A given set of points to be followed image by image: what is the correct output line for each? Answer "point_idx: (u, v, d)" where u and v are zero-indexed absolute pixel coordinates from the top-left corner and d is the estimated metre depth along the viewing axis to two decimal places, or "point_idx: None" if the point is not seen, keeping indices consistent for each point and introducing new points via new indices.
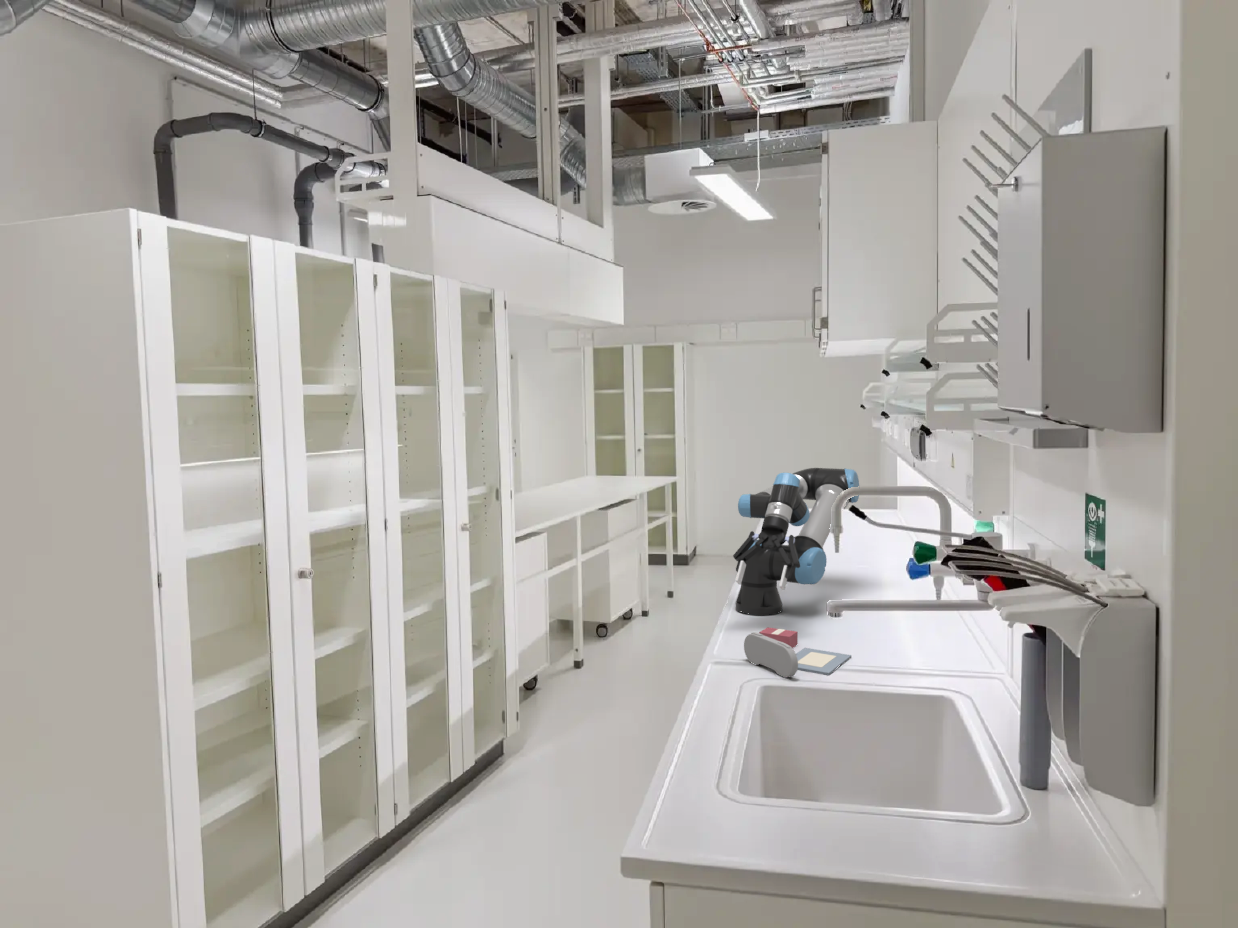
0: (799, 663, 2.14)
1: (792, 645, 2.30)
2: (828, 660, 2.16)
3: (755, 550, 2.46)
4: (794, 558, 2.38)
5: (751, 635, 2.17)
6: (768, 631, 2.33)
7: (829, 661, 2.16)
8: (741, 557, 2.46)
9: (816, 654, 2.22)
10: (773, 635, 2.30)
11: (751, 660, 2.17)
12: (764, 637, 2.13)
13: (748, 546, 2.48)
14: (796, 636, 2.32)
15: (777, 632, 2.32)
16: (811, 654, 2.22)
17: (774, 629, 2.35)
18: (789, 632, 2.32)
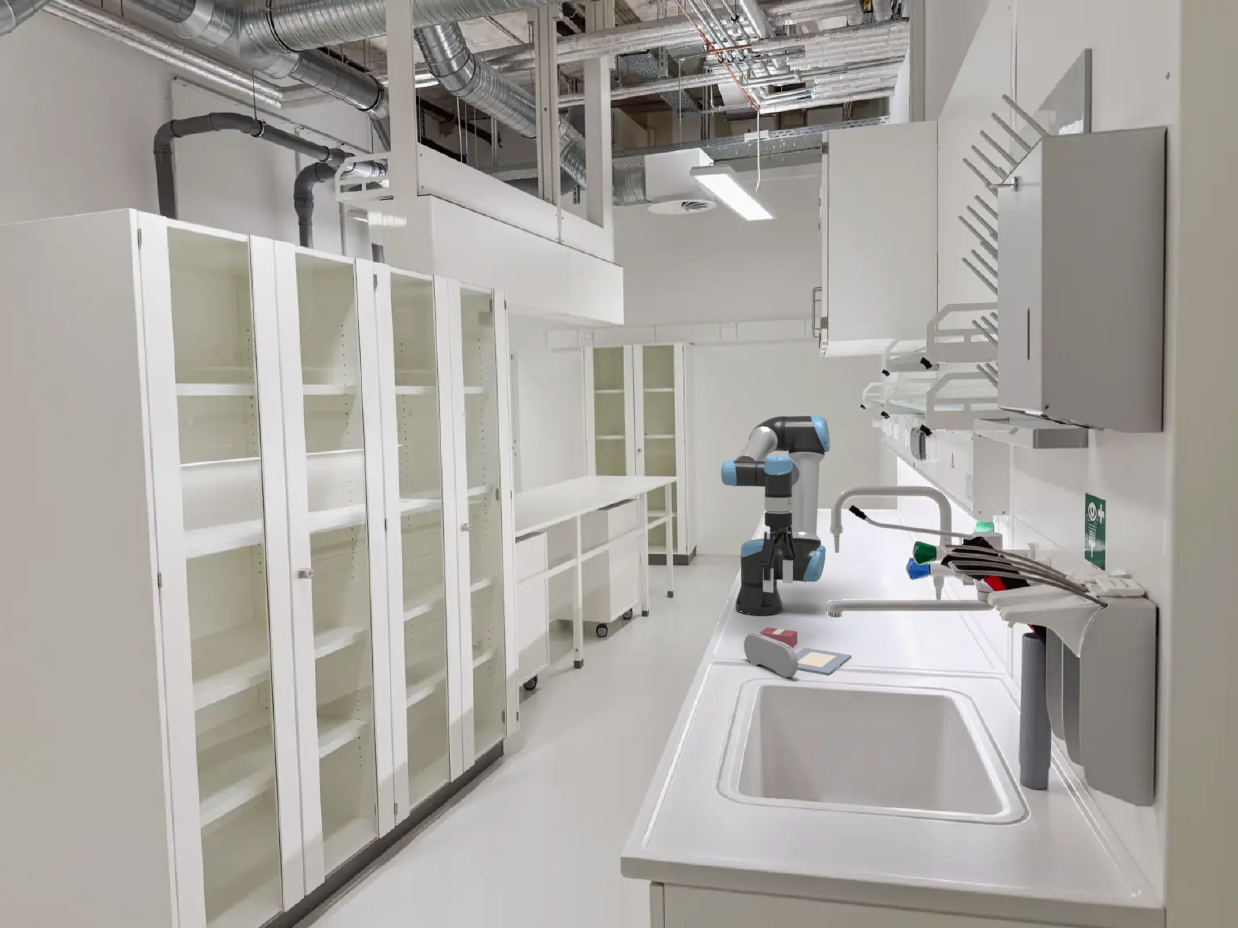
0: (799, 663, 2.14)
1: (793, 645, 2.30)
2: (828, 660, 2.16)
3: None
4: (794, 550, 2.38)
5: (751, 635, 2.16)
6: (768, 631, 2.33)
7: (829, 661, 2.16)
8: (771, 565, 2.24)
9: (816, 654, 2.22)
10: (774, 635, 2.30)
11: (751, 660, 2.17)
12: (764, 637, 2.13)
13: None
14: (796, 636, 2.33)
15: (777, 632, 2.32)
16: (811, 654, 2.22)
17: (773, 629, 2.35)
18: (789, 632, 2.32)
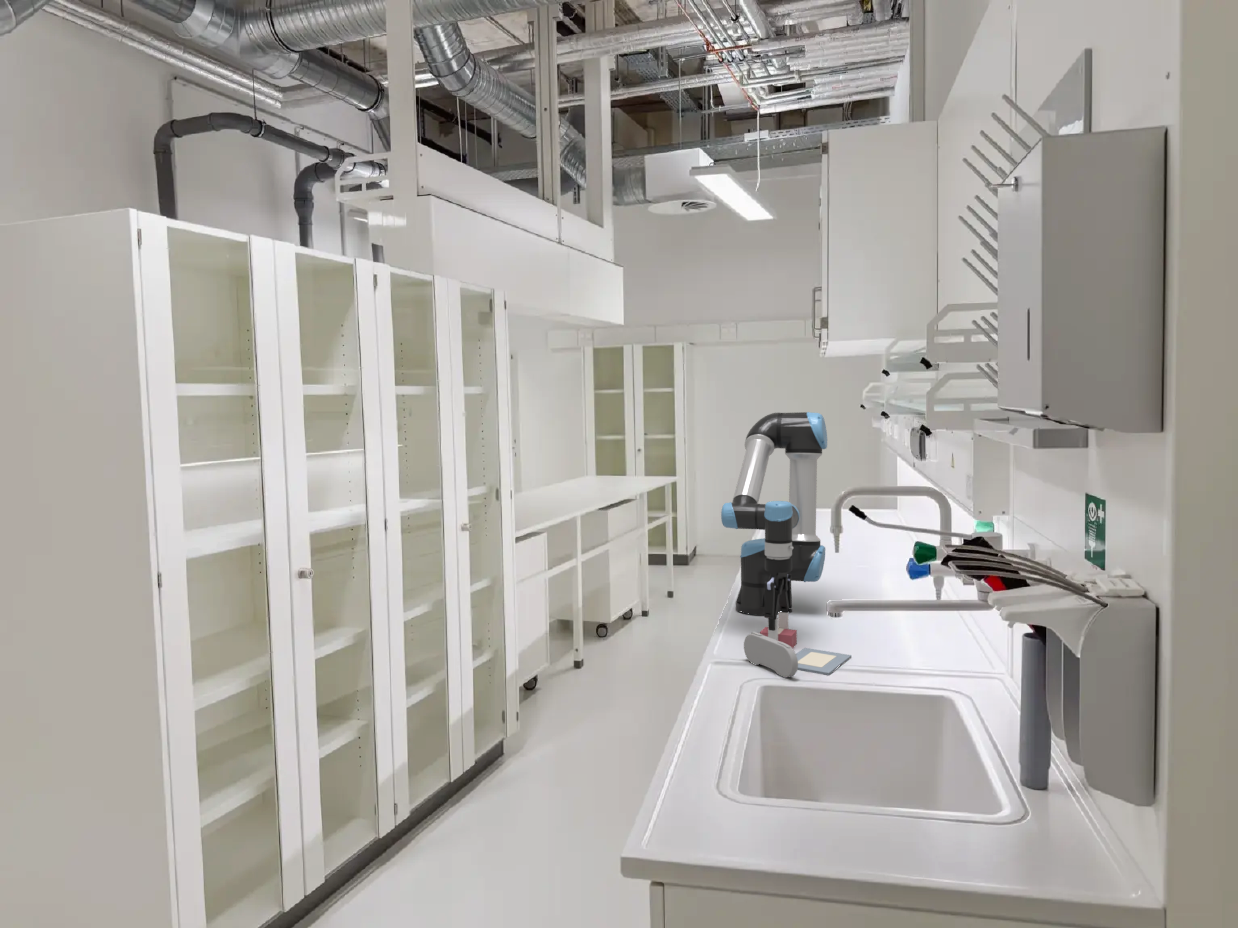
0: (799, 663, 2.14)
1: (793, 644, 2.30)
2: (828, 660, 2.16)
3: None
4: (790, 601, 2.37)
5: (751, 635, 2.16)
6: None
7: (829, 661, 2.16)
8: (776, 615, 2.28)
9: (816, 654, 2.22)
10: None
11: (751, 660, 2.17)
12: (764, 637, 2.13)
13: None
14: (796, 634, 2.33)
15: None
16: (811, 654, 2.22)
17: None
18: (789, 631, 2.32)
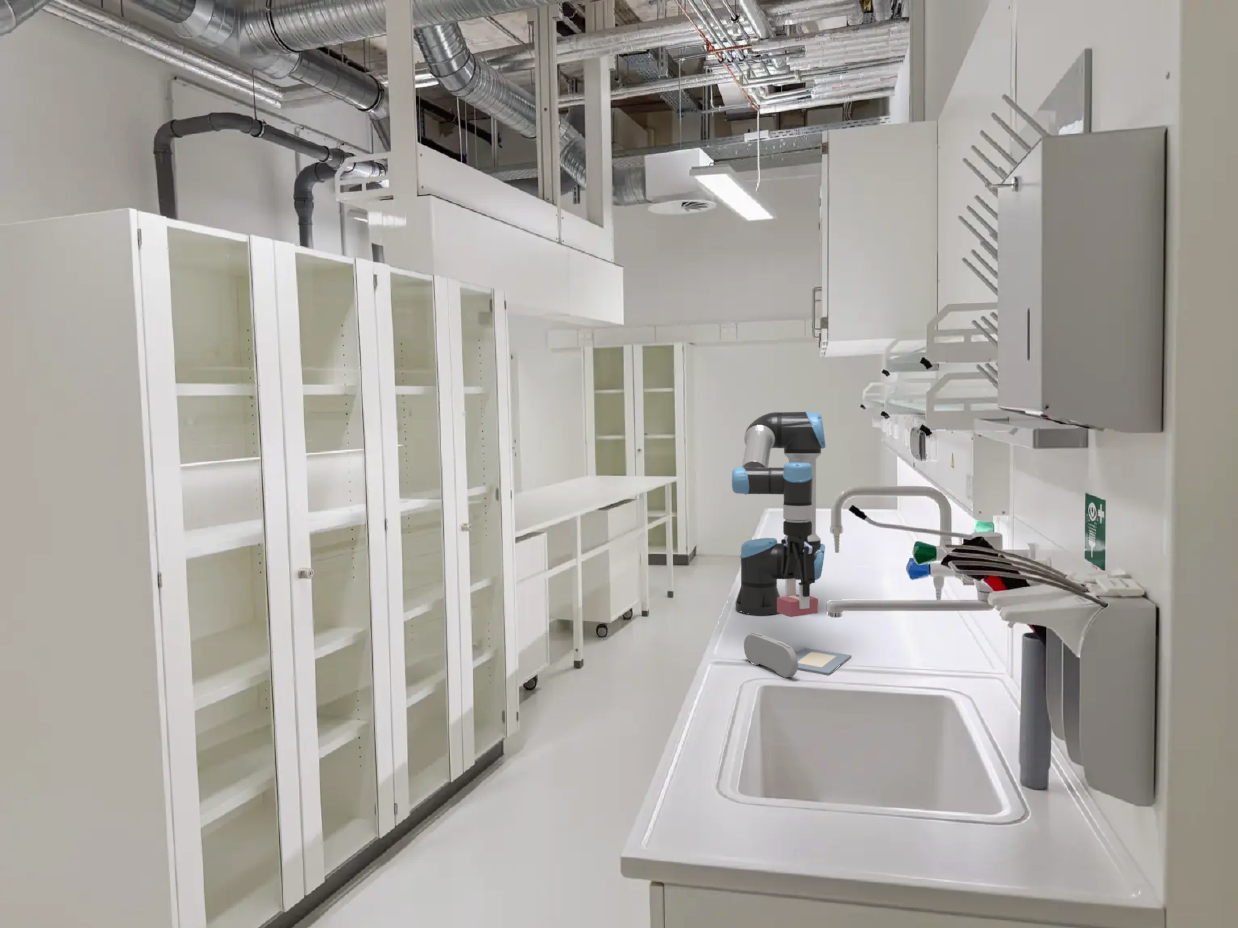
0: (799, 663, 2.14)
1: None
2: (828, 660, 2.16)
3: None
4: None
5: (751, 635, 2.16)
6: (791, 599, 2.21)
7: (829, 661, 2.16)
8: None
9: (816, 654, 2.22)
10: None
11: (751, 660, 2.17)
12: (764, 637, 2.13)
13: None
14: None
15: None
16: (811, 654, 2.22)
17: (787, 597, 2.24)
18: None
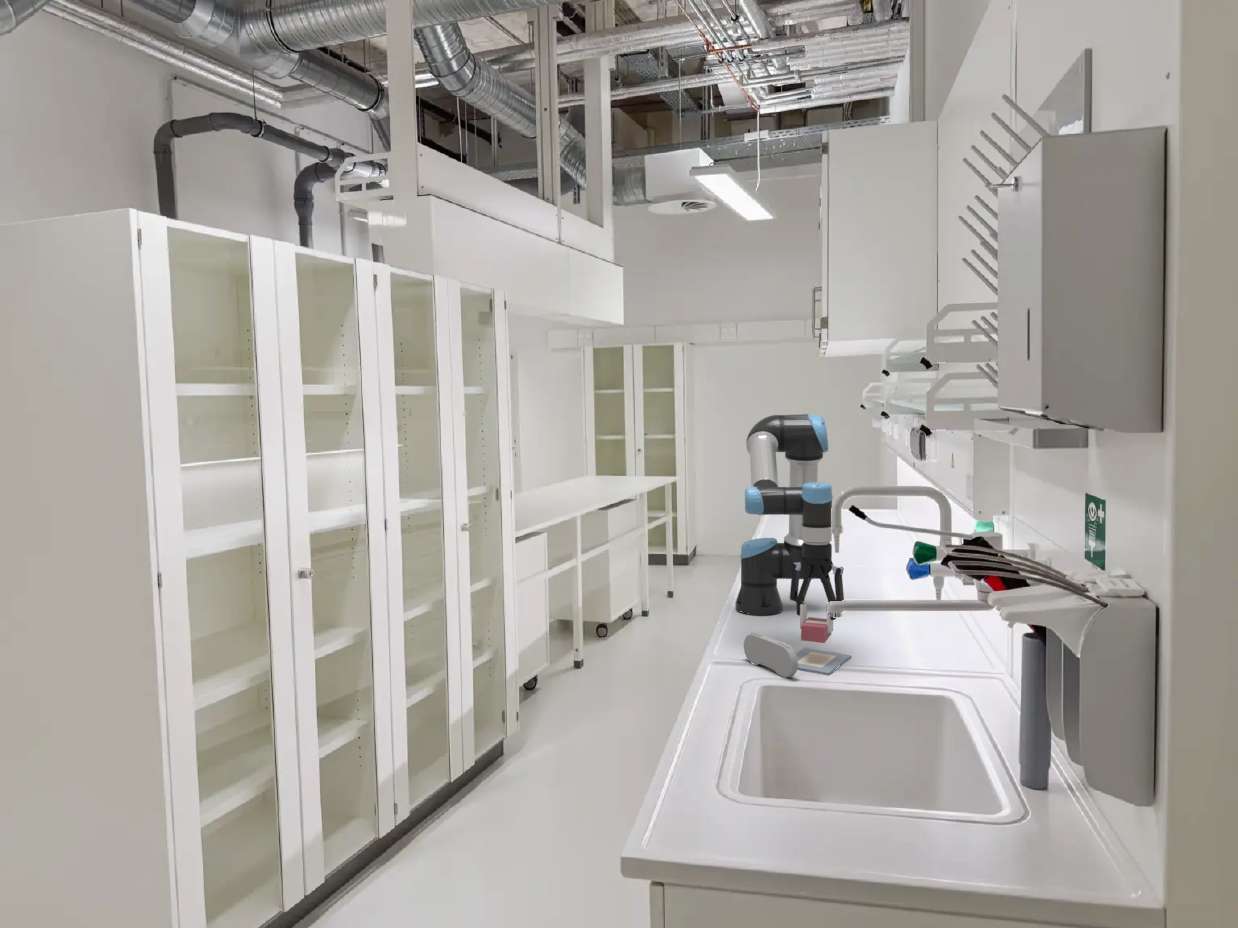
0: (799, 663, 2.14)
1: None
2: (828, 660, 2.16)
3: None
4: None
5: (751, 635, 2.16)
6: (818, 625, 2.14)
7: (829, 661, 2.16)
8: None
9: (816, 654, 2.22)
10: None
11: (751, 660, 2.17)
12: (764, 637, 2.13)
13: None
14: None
15: (820, 622, 2.16)
16: (811, 654, 2.22)
17: (807, 623, 2.16)
18: (814, 619, 2.20)
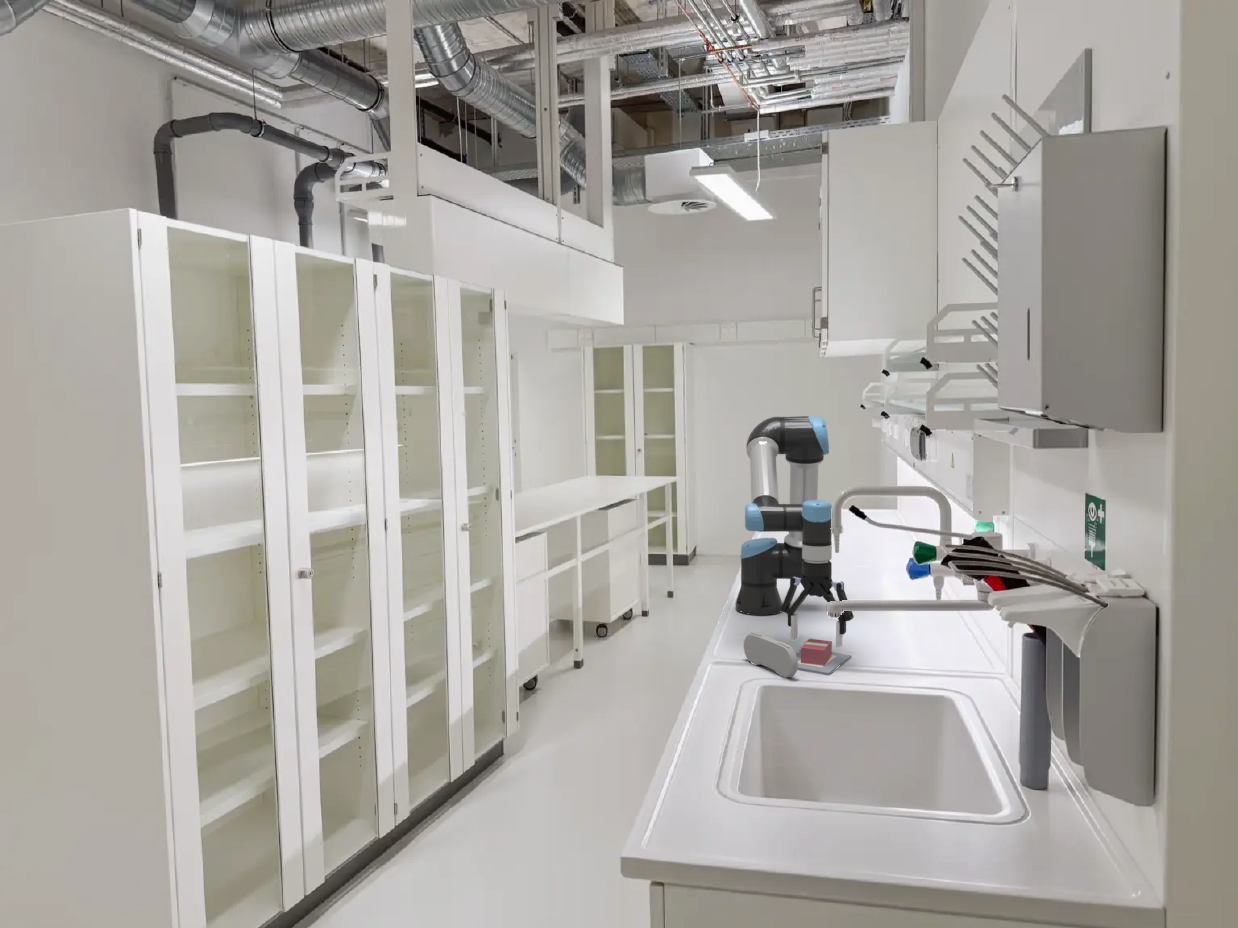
0: (799, 663, 2.14)
1: None
2: (828, 660, 2.16)
3: None
4: None
5: (751, 635, 2.16)
6: (817, 647, 2.14)
7: (829, 661, 2.16)
8: None
9: None
10: (827, 647, 2.16)
11: (751, 660, 2.17)
12: (764, 637, 2.13)
13: None
14: None
15: (820, 644, 2.17)
16: None
17: (807, 645, 2.16)
18: (815, 641, 2.20)
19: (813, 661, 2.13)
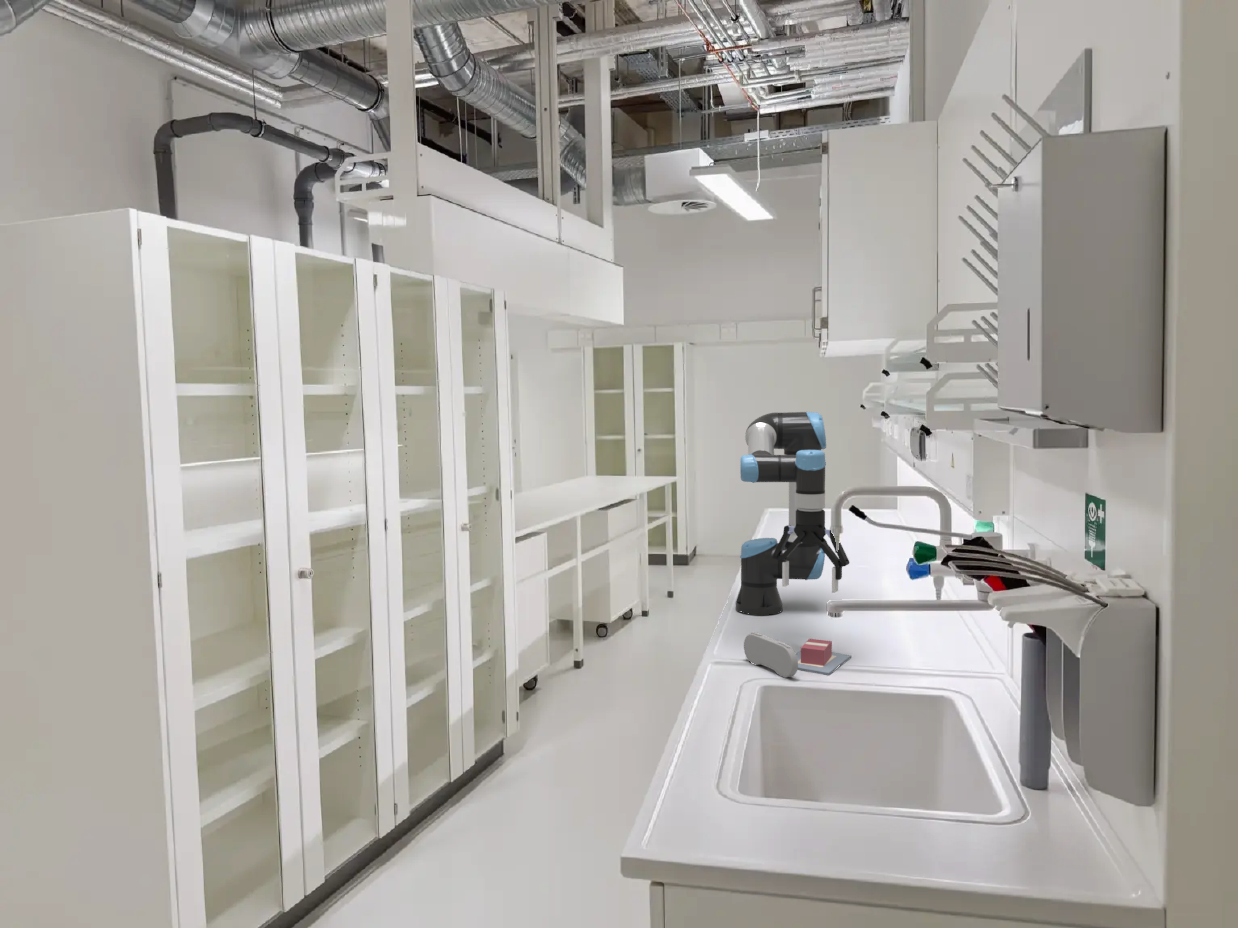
0: (799, 663, 2.14)
1: None
2: (828, 660, 2.16)
3: None
4: None
5: (751, 635, 2.16)
6: (817, 647, 2.14)
7: (829, 661, 2.16)
8: None
9: None
10: (827, 647, 2.16)
11: (751, 660, 2.17)
12: (764, 637, 2.13)
13: None
14: None
15: (820, 644, 2.17)
16: None
17: (807, 645, 2.16)
18: (815, 641, 2.20)
19: (813, 661, 2.13)
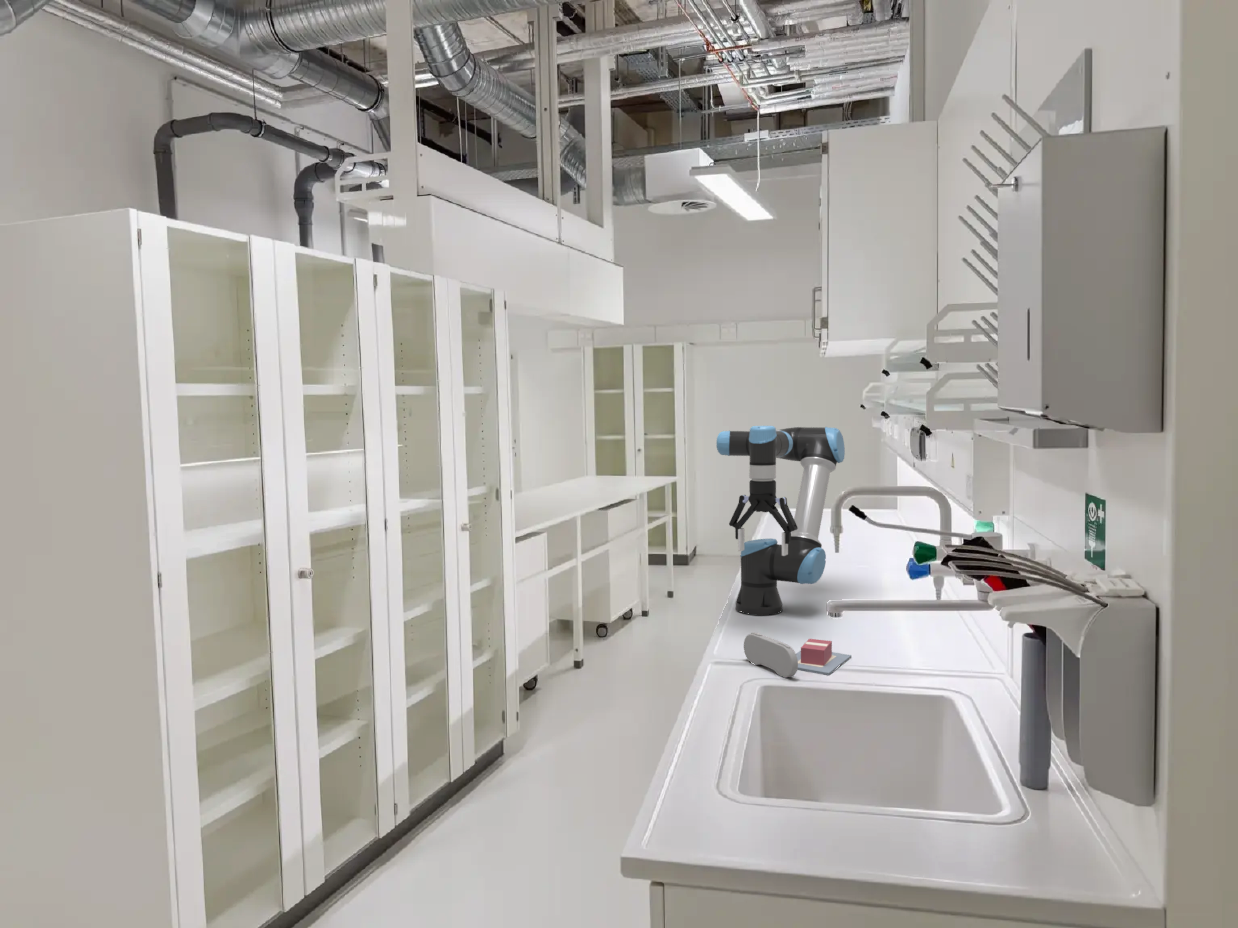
0: (799, 663, 2.14)
1: None
2: (828, 660, 2.16)
3: None
4: None
5: (751, 635, 2.16)
6: (817, 647, 2.14)
7: (829, 661, 2.16)
8: None
9: None
10: (827, 647, 2.16)
11: (751, 660, 2.17)
12: (764, 637, 2.13)
13: None
14: None
15: (820, 644, 2.17)
16: None
17: (807, 645, 2.16)
18: (815, 641, 2.20)
19: (813, 661, 2.13)
